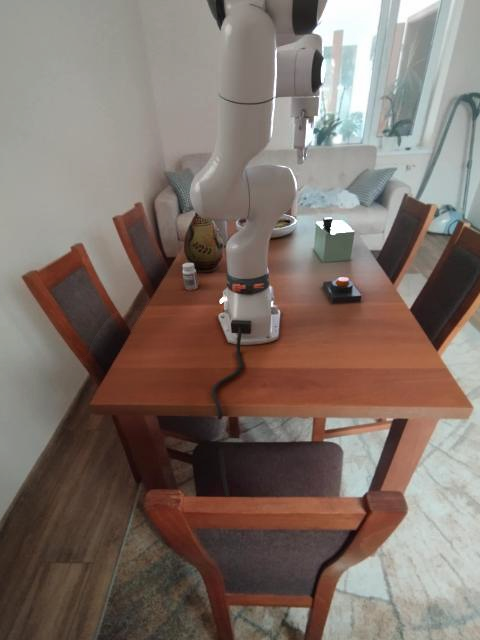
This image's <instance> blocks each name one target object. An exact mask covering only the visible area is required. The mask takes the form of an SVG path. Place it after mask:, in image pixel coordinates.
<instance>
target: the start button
mask: <svg viewBox="0 0 480 640" xmlns="http://www.w3.org/2000/svg"><path fill="white" fill-rule="evenodd" d="M336 279H337V285H339V286H347V285H348V282H349V280H350V278H349V277H345V276H339V277H337V278H336Z"/></svg>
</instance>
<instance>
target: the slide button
mask: <svg viewBox="0 0 480 640" xmlns="http://www.w3.org/2000/svg"><path fill="white" fill-rule="evenodd" d="M322 219H323V220H322V222H323V227H332V221H334V219H333V218H332V217H330V216H329V217H323V218H322Z"/></svg>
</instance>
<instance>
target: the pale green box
mask: <svg viewBox="0 0 480 640" xmlns="http://www.w3.org/2000/svg"><path fill="white" fill-rule="evenodd" d="M314 230H315V231H314V232H315V233H314V243H313V250H314V251H315V254H317V256H318V257H319V258H320V260H321V262H322V263H328V262H329V263H331V262H332V263H333V262H345V261H351V258H352V251H353V245H354V239H355V230H354V229H353V228H351V226H349V225H348V224H347V223H346V222H345V221H343V220H332V227H323V221H316V222H315V229H314Z"/></svg>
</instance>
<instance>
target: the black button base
mask: <svg viewBox="0 0 480 640" xmlns="http://www.w3.org/2000/svg"><path fill="white" fill-rule="evenodd" d="M322 290H324V292H325V294H326V296H327V297H328V299H329V301H330V303H331V304H332V305H335V304H350V303H361V301H362V297H363V296H362V294H361V293H360V292H359V290H358V288H357V287H356V286H355V285H354V283H353V281H352V280H350V279H349V282H348V285H347V286H339V285H337V278H336V279H334V280H330V281H329V280H328V281H322Z"/></svg>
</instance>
